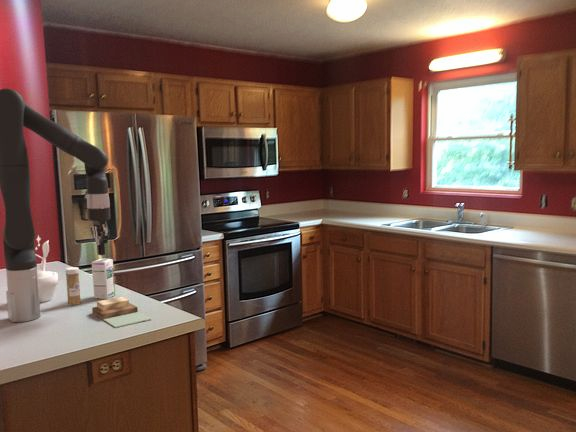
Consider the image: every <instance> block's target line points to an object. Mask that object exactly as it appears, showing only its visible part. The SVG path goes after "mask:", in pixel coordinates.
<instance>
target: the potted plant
mask: <svg viewBox="0 0 576 432" xmlns="http://www.w3.org/2000/svg"><path fill="white" fill-rule="evenodd" d="M35 240H36V241H37V243H38V244H37V246H38V247H40V246H41V244H40V241H41V237H40V236H39V234H38V235H37V238H36V239H35ZM49 241H50V240H49V239H48V240H46V241H44V242H43V244H42V254H43V255H42V256H40V255H39V254H36V253H35V255H36V257H38V258H40V259H41V263H40V269H37V275H38V289H39V302H40V303H47V302H49V301H52V299H53V297H54V293H55V290H56V287H57V286H58V285H59V274H58V272H55V271H50V270H48V271H47V270H46V263H47V257H48V255H49V252H50V245H49ZM37 246H35V251H37V250H38V247H37Z"/></svg>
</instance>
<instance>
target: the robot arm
mask: <svg viewBox="0 0 576 432" xmlns="http://www.w3.org/2000/svg"><path fill="white" fill-rule="evenodd" d="M24 128H26V129H28V130H30V131H31V132H33V133H35V134H36V135H38V136H40V138H42V139H44V140H45V141H47V142H48V143H50V144H51V145H53V146H54V147H56V148H57V149H59V150H61V151H62V152H64V153H66V154H67V155H69V156H72V157H74V158H76V159H77V160H79V161H80V162H82V163H84V169H85V175H86V176H85V177H86V193H87V195H86V208H87V209H86V211H87V220H88V221H90V222H92V227H90V232H91V236H92V239H93V242H94V243H95V245H96V251H97V252H96V253H97V256H105V255H106V244H108V241H109V238H110V234H111V231H110V229H108V225H107V221H108V220H109V221H110V220H111V207H110V206H111V203H110V202H111V201H110V197H109V195H110V194H109V182H108V178H107V175H106V166H107V165H108V162H109V161H108V160H109V157H108V155H107V153H106V152H104V150H102V149H101V148H99V147H97V146H96V145H93V144H91V143H90V142H88V141H86V140H84V139H83V138H82V137H80V136H79V135H77V134H75V133H74V132H73V131H71V130H70V129H68V128H67V127H65V126H62V125H61V124H59V123H57V122H55V121H53V120H52V119H49V118H48V117H46V116H44V115H43V114H41V113H39V112H38V111H36V110H35V109H33V108H32V107H31V106H30V105H29V104H27V103H26V102H25V99H24V98H23V96H22V95H21V94H20V92H18V91H17V90H14V89H12V88H7V87H6V88H1V89H0V193H1V196H2V199H3V204H4V210H5V211H4V212H5V214H4V217H5V218H4V219H5V221H4V222H5V223H4V227H3V229H2V241H3V253H4V263H5V272H6V284H7V290H6V291H5V293H6V303H7V317H8V320H9V321H10V322H11V323H21V322H22V323H23V322H29V321H33V320H36V319H39V318H40V317H41V304H40V303H41V302H39V289H38V275H37V271H38V263H37V256H36V255H35V254H36V249H35V248H36V246H35V240H36V239H35V238H36V230H35V227H34V221H33V216H32V210H31V172H30V171H31V170H30V168H31V167H30V162H29V161H30V160H29V154H28V153H29V152H28V149H27V144H26V139H25V134H24V133H25V132H24Z"/></svg>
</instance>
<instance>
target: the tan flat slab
mask: <svg viewBox="0 0 576 432" xmlns="http://www.w3.org/2000/svg"><path fill="white" fill-rule="evenodd" d="M138 309H139V308H138V306H136V305H134V304H132V303H130V302H129V306H125V307H120V308H116V309H111V310H106V311H103V310H101V309H99V308H98V307H97V306H94V307H92V308H91V311H92V314H93V315H94V314H95V316H96V317H98V318H99V319H101V320H102V319H103V320H102V321H104V319H107V318H112V317H117V316H121V315H126V314H131V313H136V312H139V311H138Z"/></svg>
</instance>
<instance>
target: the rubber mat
mask: <svg viewBox="0 0 576 432" xmlns="http://www.w3.org/2000/svg"><path fill="white" fill-rule="evenodd" d="M151 320H152V318H151V317H149V316H146V315H145V314H144V313H141V312H139V311H138V312H136V313H131V314H126V315H121V316H117V317H112V318H107V319H104V320H103V321H104V322H105V321H106V324H109V325H110V326H112V327H113V328H115V329H117V328H121V327H126V326H131V325H135V324H139V323H143V322H149V321H151Z"/></svg>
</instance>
